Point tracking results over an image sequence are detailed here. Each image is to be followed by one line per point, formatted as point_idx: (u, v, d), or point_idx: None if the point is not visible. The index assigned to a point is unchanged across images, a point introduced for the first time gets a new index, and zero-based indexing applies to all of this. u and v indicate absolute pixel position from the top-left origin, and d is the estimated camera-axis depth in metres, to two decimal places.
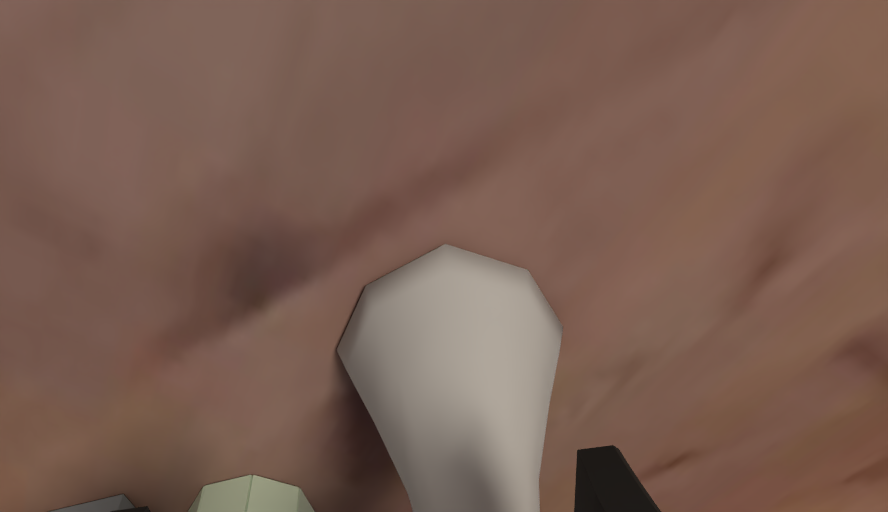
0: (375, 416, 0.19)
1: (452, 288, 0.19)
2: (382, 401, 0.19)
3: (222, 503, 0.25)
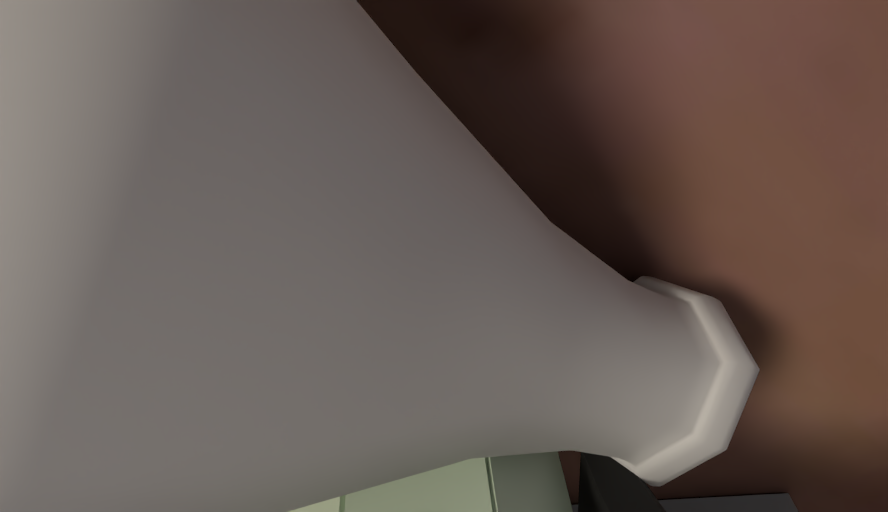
0: None
1: None
2: None
3: None
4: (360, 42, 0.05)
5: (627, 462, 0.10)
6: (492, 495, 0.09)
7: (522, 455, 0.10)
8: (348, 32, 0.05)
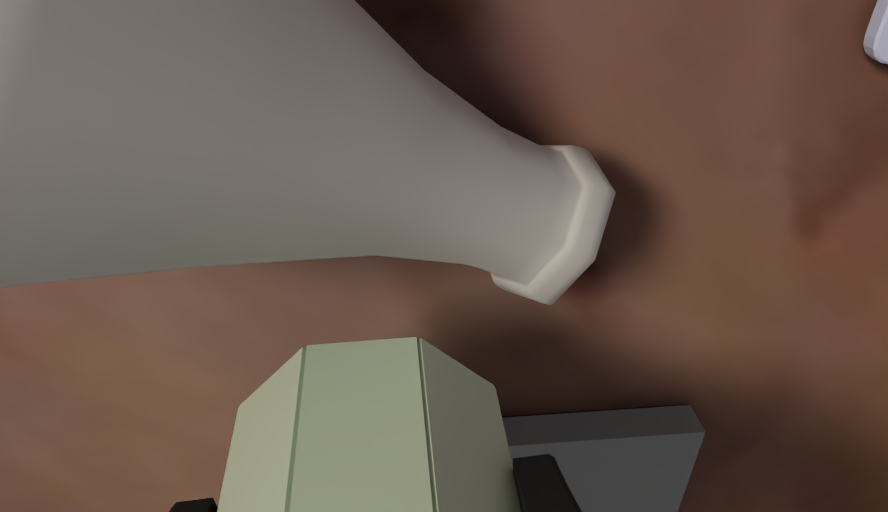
0: None
1: (32, 283, 0.08)
2: None
3: None
4: None
5: (521, 285, 0.12)
6: None
7: (473, 479, 0.10)
8: None
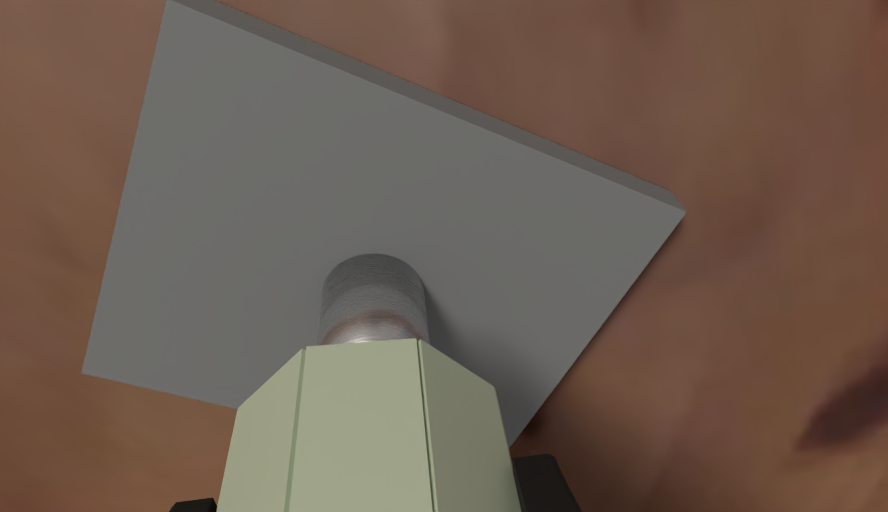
0: None
1: None
2: None
3: None
4: None
5: None
6: None
7: (473, 481, 0.10)
8: None
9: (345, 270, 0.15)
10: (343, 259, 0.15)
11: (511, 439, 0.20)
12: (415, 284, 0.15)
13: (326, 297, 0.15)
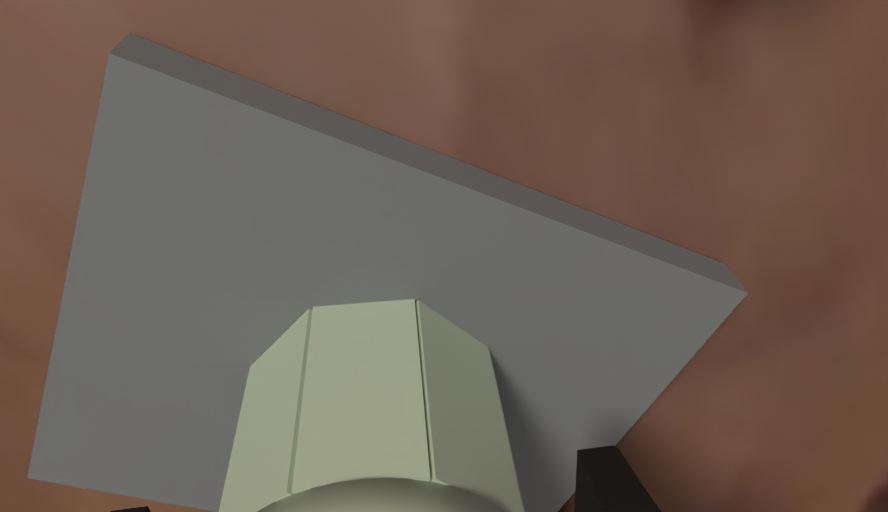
0: None
1: None
2: None
3: None
4: None
5: None
6: (431, 455, 0.09)
7: (466, 422, 0.11)
8: None
9: None
10: None
11: None
12: None
13: None
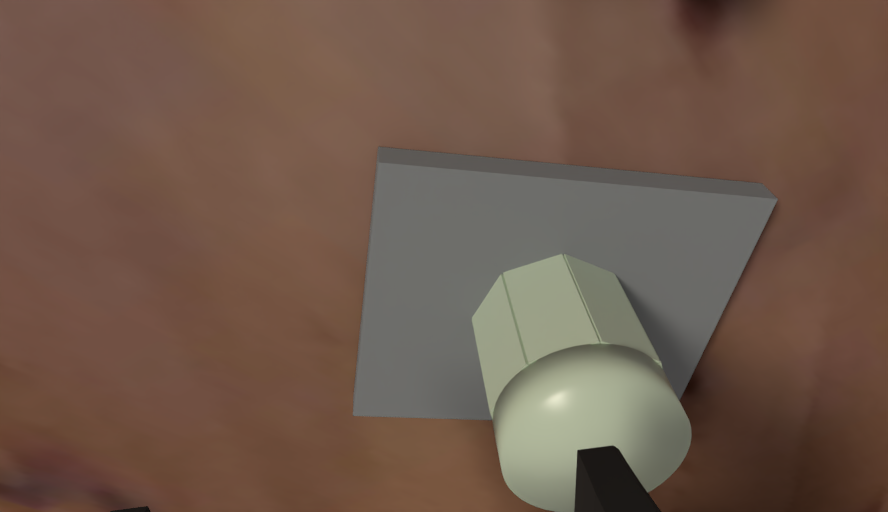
0: None
1: None
2: None
3: None
4: None
5: None
6: (596, 331, 0.17)
7: (611, 314, 0.18)
8: None
9: None
10: None
11: None
12: None
13: None
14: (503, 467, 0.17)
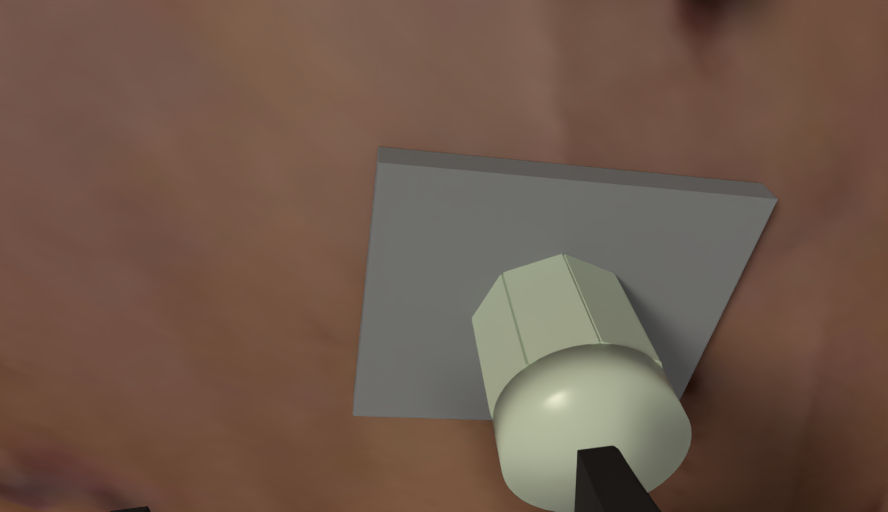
0: None
1: None
2: None
3: None
4: None
5: None
6: (596, 331, 0.17)
7: (611, 314, 0.18)
8: None
9: None
10: None
11: None
12: None
13: None
14: (503, 467, 0.17)
